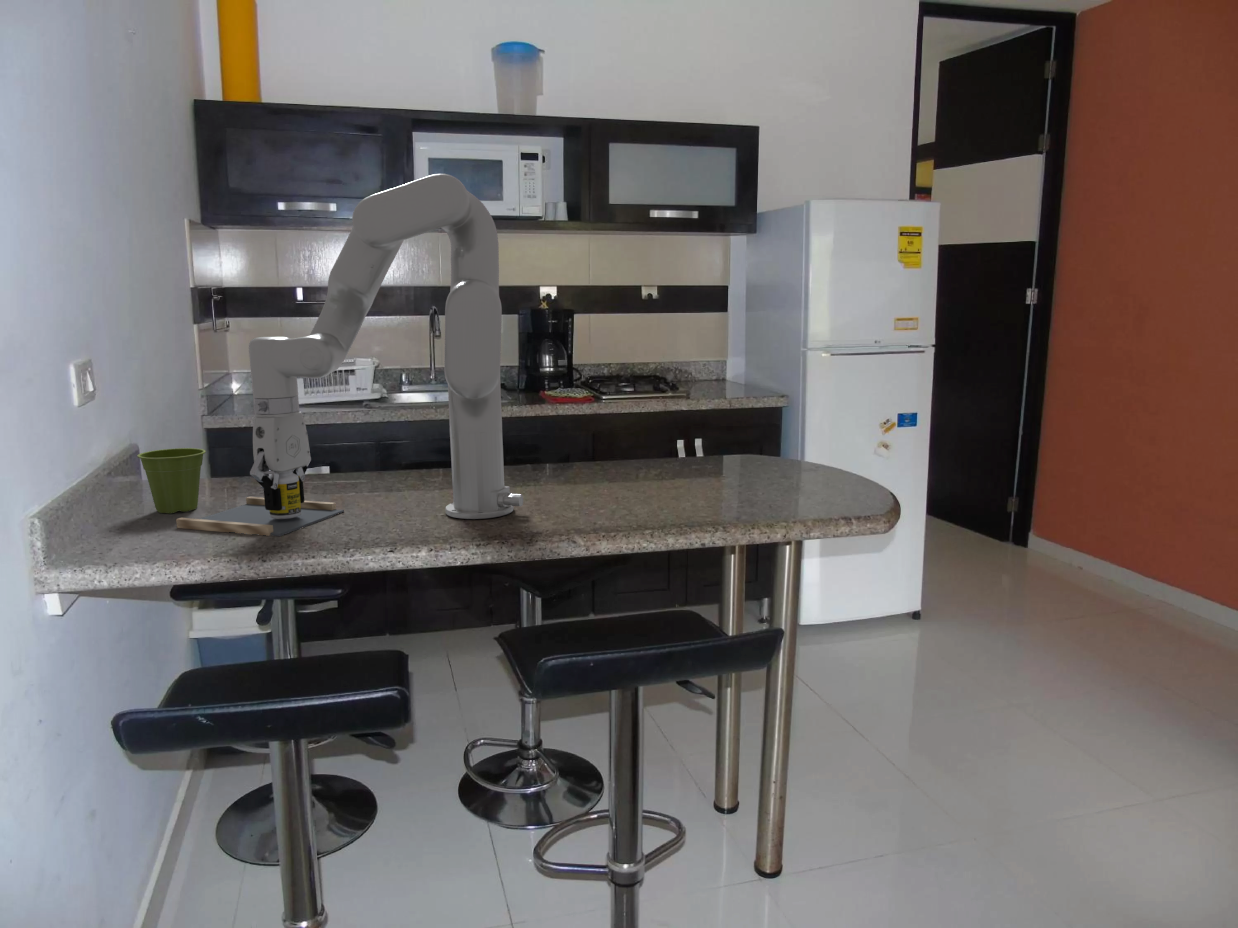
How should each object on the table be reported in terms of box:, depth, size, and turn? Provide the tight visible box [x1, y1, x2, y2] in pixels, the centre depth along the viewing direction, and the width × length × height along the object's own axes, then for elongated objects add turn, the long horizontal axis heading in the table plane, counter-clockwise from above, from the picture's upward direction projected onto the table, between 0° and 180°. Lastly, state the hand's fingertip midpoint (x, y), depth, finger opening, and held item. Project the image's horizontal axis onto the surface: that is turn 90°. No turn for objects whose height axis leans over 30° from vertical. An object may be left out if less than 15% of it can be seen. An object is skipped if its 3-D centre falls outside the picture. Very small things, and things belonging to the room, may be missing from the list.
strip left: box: [175, 517, 273, 537], centre depth 161 cm, size 20×1×2 cm, turn 71°
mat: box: [199, 503, 345, 537], centre depth 169 cm, size 22×18×1 cm
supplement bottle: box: [269, 469, 301, 519], centre depth 166 cm, size 5×5×10 cm
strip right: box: [245, 496, 337, 510], centre depth 178 cm, size 20×1×2 cm, turn 71°
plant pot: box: [136, 447, 207, 514], centre depth 177 cm, size 12×12×11 cm
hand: (285, 505), depth 167 cm, fingers closed on supplement bottle, 5 cm apart
